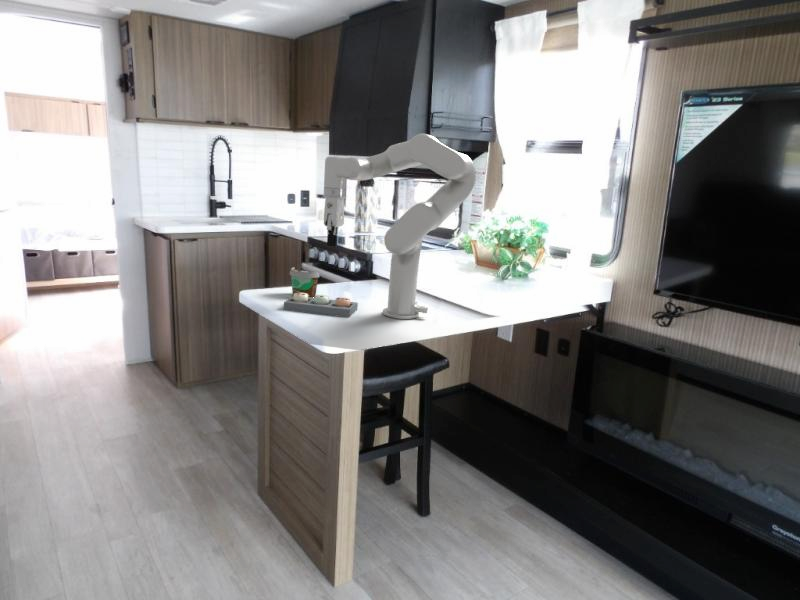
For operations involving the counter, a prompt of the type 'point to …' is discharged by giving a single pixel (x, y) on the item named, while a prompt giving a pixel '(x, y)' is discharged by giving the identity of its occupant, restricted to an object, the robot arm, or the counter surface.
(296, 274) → the food container
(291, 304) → the gray rectangular tray
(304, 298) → the button two dot
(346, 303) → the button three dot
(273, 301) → the counter surface
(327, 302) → the button one dot
